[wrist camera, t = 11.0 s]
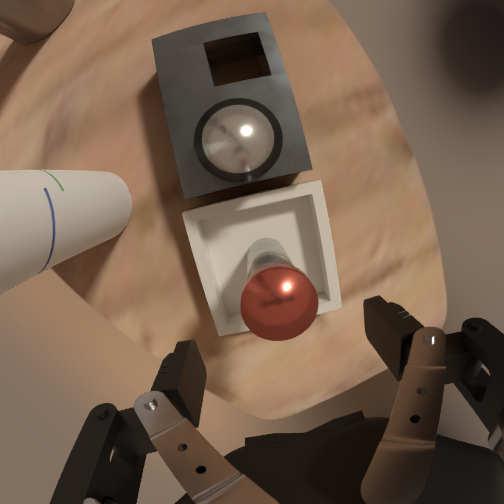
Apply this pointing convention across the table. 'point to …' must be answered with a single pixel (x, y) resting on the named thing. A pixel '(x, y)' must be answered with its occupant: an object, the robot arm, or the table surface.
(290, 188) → the dish
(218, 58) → the dark grey block
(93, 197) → the cylindrical container
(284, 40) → the table surface
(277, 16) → the table surface
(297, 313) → the pin
